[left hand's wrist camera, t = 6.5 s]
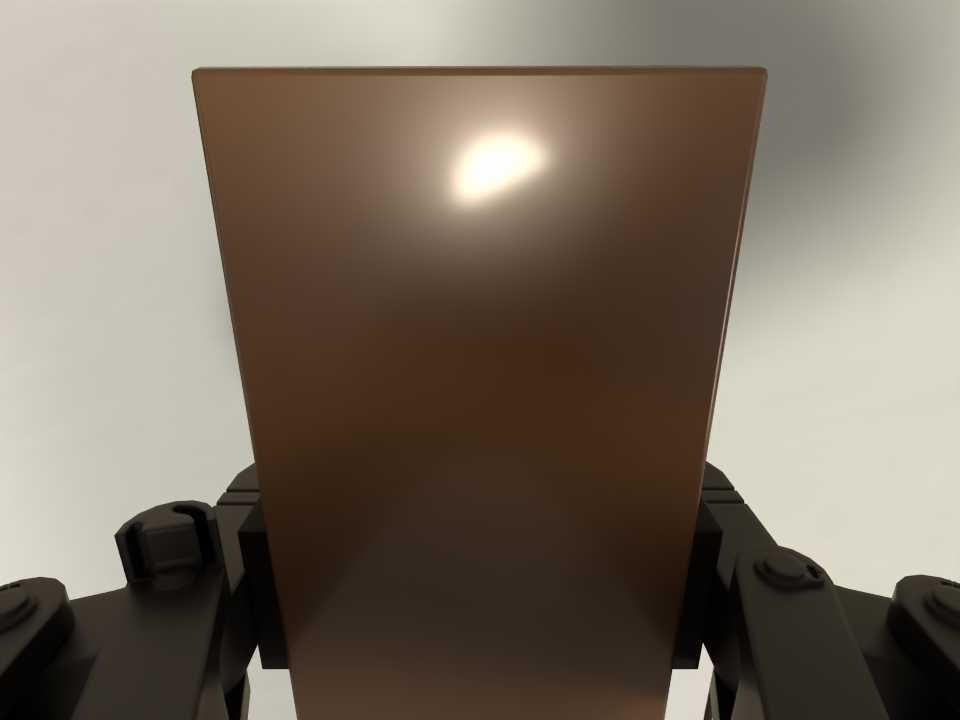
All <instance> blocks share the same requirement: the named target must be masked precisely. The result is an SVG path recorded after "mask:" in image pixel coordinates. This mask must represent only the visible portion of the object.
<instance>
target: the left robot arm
mask: <svg viewBox="0 0 960 720" xmlns="http://www.w3.org/2000/svg"><path fill="white" fill-rule="evenodd" d="M114 536H115V540H116V543H117V547H118V550H119V554H120V558H121V561H122V565H123V568H124V572H125V575H126V579H127V585H126V587H125V588H121V589H118V590H114V591H110V592H106V593H101V594H97V595H92V596H88V597H83V598H78V599H74V600H69V597H68V594H67V591H66V588H65V585H63V584H62V583H61V582H60V581H58V580H57V579H54V578H46V577H36V578H30V579H23V580H19V581H16V582H12V583H10V584H6V585H3V586H0V720H248V710H249V700H250V685H249V678H248V673H247V667H248V665H249V663H250V660H251V658H252V656H253V654H254V651H255V649H256V647H257V645H258V647H259V653H260V658H261V664H262V669H289V666H288V660H287V654H286V648H285V642H284V636H283V630H282V624H281V618H280V612H279V605H278V599H277V593H276V587H275V581H274V575H273V569H272V563H271V557H270V551H269V545H268V539H267V533H266V527H265V521H264V515H263V508H262V502H261V496H260V490H259V484H258V478H257V472H256V466H255V463H253V464H252V465H251V466H249V467H248V468H246V469H245V470H243V471H242V472H240V473H239V474H238V475H237V476H236V477H235V479H234V480H233V481H232V483H231V484H230V485H229V487H228V488H227V489H226V493H223V495H222V496H221V497H220V499H219V500H218V501H217V505H216V506H214V507H213V508H212V507H211V506H210V505H208V504H207V503H203V502H198V501H194V500H191V501H175V502H171V503H167V504H163V505H159V506H156V507H153V508H151V509H149V510H146V511H144V512H142V513H139V514H138V515H136V516H135V517H133V518H132V519H130V520H129V521H128V522H126V523H125V524H123V526H122V527H121V528H120V529H119V531H118V532H117V533H116V534H115V535H114ZM703 643H704V646H705V648H706V650H707V652H708V654H709V657H710V659H711V661H712V663H713V665H714V668H713V673H712V678H711V683H710V688H709V693H708V698H707V703H706V709H705V714H704V720H712V718H713V720H960V584H959V583H957V582H953V581H951V580H947V579H944V578H940V577H934V576H927V575H913V576H905V577H904V578H903V579H901V580H900V581H899V582H897V584H896V587H895V590H894V593H893V596H892V598H888V597H884V596H879V595H874V594H870V593H865V592H861V591H856V590H852V589H847V588H844V587H840V586H837V585H834V584H833V581H832V580H831V579H830V577H829V576H828V574H827V573H826V571H825V570H824V569H823V568H822V567H821V566H819V565H818V564H817V563H815V562H814V561H813V560H812V559H810V558H809V557H807V556H805V555H803V554H801V553H798V552H796V551H794V550H792V549H789V548H785V547H781V546H778V545H777V543H776V542H775V541H774V539H773V538H772V537H771V535H770V534H769V533H768V531H767V530H766V529H765V527H764V526H763V525H762V523H761V522H760V521H759V520H758V518H757V517H756V516H755V514H754V513H753V512H752V510H751V509H750V508H749V506H748V505H747V504H744V500H743V498H742V497H741V496H740V494H739V493H738V492H737V491H735V490H734V486H733V485H732V484H731V482H730V481H729V480H728V478H727V477H726V476H725V475H724V473H723V472H722V471H720V470H719V469H717V468H716V467H714V466H713V465H711V464H710V463H708V462H707V461H706V463H705V469H704V475H703V481H702V488H701V494H700V500H699V506H698V513H697V519H696V525H695V531H694V538H693V544H692V550H691V556H690V562H689V569H688V575H687V581H686V587H685V594H684V600H683V606H682V612H681V619H680V625H679V631H678V637H677V643H676V650H675V656H674V662H673V668H672V669H698V666H699V660H700V655H701V650H702V644H703Z"/></svg>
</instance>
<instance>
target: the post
mask: <svg viewBox="0 0 960 720" xmlns="http://www.w3.org/2000/svg"><path fill="white" fill-rule="evenodd" d="M767 77H768V75H767V69H765V68H763V67H761V66H358V67H199V68H197V69H195V70H193V71H192V77H191V78H192V84H193V90H194V96H195V102H196V108H197V114H198V120H199V127H200V133H201V139H202V145H203V151H204V157H205V163H206V169H207V175H208V181H209V187H210V193H211V199H212V205H213V211H214V217H215V224H216V230H217V236H218V242H219V248H220V254H221V260H222V266H223V272H224V278H225V284H226V290H227V296H228V302H229V308H230V314H231V321H232V327H233V333H234V339H235V345H236V351H237V357H238V363H239V369H240V375H241V381H242V387H243V393H244V399H245V405H246V411H247V418H248V424H249V430H250V436H251V442H252V448H253V454H254V460H255V466H256V472H257V478H258V484H259V490H260V496H261V502H262V508H263V515H264V521H265V527H266V533H267V539H268V545H269V551H270V557H271V563H272V569H273V575H274V581H275V587H276V593H277V599H278V605H279V612H280V618H281V624H282V630H283V636H284V642H285V648H286V654H287V660H288V666H289V672H290V678H291V684H292V690H293V696H294V702H295V709H296V715H297V720H664V718H665V712H666V706H667V700H668V693H669V687H670V681H671V675H672V668H673V662H674V656H675V650H676V643H677V637H678V631H679V625H680V619H681V612H682V606H683V600H684V594H685V587H686V581H687V575H688V569H689V562H690V556H691V550H692V544H693V538H694V531H695V525H696V519H697V513H698V506H699V500H700V494H701V488H702V481H703V475H704V469H705V463H706V457H707V450H708V444H709V438H710V432H711V425H712V419H713V413H714V407H715V401H716V394H717V388H718V382H719V376H720V369H721V363H722V357H723V351H724V344H725V338H726V332H727V326H728V320H729V313H730V307H731V301H732V295H733V288H734V282H735V276H736V270H737V263H738V257H739V251H740V245H741V239H742V232H743V226H744V220H745V214H746V207H747V201H748V195H749V189H750V182H751V176H752V170H753V164H754V158H755V151H756V145H757V139H758V133H759V126H760V120H761V114H762V108H763V102H764V95H765V89H766V83H767Z"/></svg>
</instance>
